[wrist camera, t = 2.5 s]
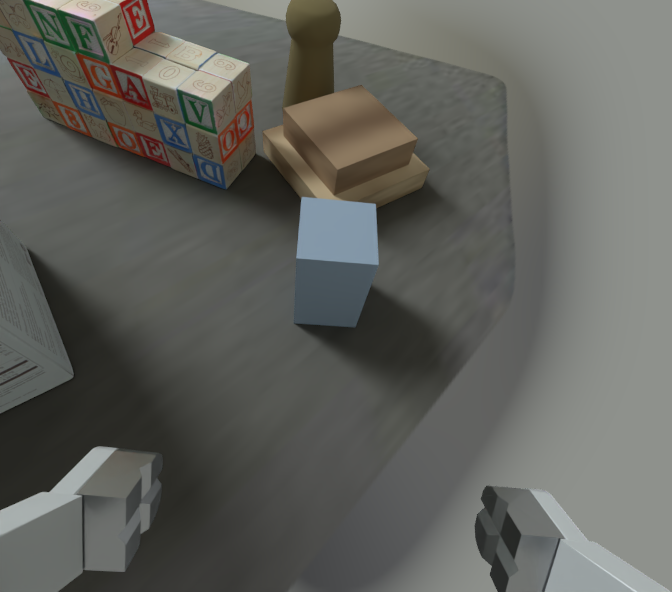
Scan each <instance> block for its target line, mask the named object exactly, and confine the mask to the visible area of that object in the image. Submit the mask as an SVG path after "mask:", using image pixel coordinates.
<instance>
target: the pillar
mask: <svg viewBox="0 0 672 592" xmlns="http://www.w3.org/2000/svg"><path fill="white" fill-rule="evenodd" d="M378 265H379V262H378V240H377V219H376V204H372V203H362V202H351V201H341V200H330V199H320V198H309V197H302V199H301V211H300V222H299V234H298V246H297V258H296V281H295V306H294V323H297V324H312V325H327V326H343V327H356V324H357V322H358V319H359V316H360V314H361V311H362V308H363V306H364V303H365V300H366V298H367V295H368V292H369V289H370V287H371V284H372V281H373V279H374V276H375V273H376V271H377V268H378Z"/></svg>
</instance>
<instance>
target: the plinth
mask: <svg viewBox="0 0 672 592" xmlns="http://www.w3.org/2000/svg"><path fill="white" fill-rule="evenodd" d="M417 140H418V138H417V137H416V136H415V135H413V134H412V133H411V132H410V131H409V130H408V129H407V128H406V127H405V126H404V125H403V124H402V123H401V122H400V121H399V120H398V119H397V118H396V117H395V116H394V115H392V114H391V113H390V112H389V111H388V110H387V109H386V108H385V107H384V106H383V105H382V104H381V103H380V102H379V101H378V100H377V99H376V98H375V97H374V96H373V95H372V94H370V93H369V92H368V91H367V90H366V89H365V88H364V87H363V86H362V85H359V86H356V87H352V88H349V89H346V90H342V91H339V92H336V93H332V94H329V95H326V96H322V97H319V98H315V99H312V100H309V101H305V102H302V103H299V104H295V105H292V106H289V107H285V108H283V125H281V126H278V127H274V128H271V129H268V130H265V131H263V146H264V153H265V154H266V155H267V157H268V158H269V159H270V160H271V162H272V163H273V164H274V165H275V167H276V168H277V169H278V170H279V172H280V173H281V174H282V175H283V177H284V178H285V179H286V180H287V182H288V183H289V184H290V186H291V187H292V188H293V189H294V191H295V192H296V193H297V194H298V196H299V197H300V198H301V199H302V197H309V198H320V199H330V200H341V201H351V202H362V203H372V204H376V208H378V207H381V206H383V205H385V204H387V203H389V202H392V201H394V200H396V199H398V198H401V197H403V196H405V195H407V194H409V193H412V192H414V191H416V190H418V189H420V188H422V186H423V184H424V182H425V179H426V177H427V174H428V172H429V170H430V169H429V168H428V167H427V166H426V165H425V164H424V163H423V162H422V161H421V160H420V159H419V158H418V157H417V156H416V155H415V154H414V153H413V151H414V148H415V145H416V142H417Z"/></svg>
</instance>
